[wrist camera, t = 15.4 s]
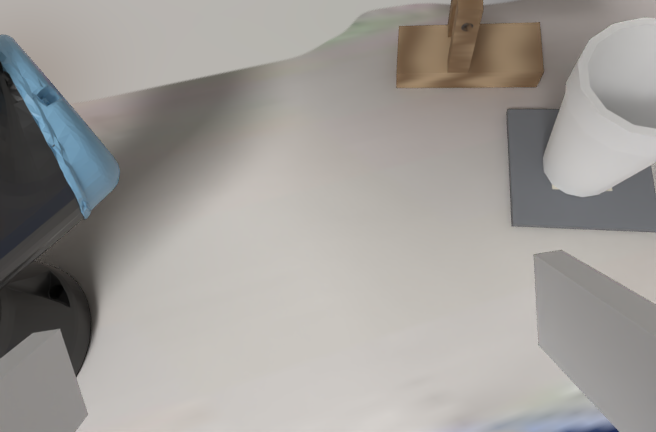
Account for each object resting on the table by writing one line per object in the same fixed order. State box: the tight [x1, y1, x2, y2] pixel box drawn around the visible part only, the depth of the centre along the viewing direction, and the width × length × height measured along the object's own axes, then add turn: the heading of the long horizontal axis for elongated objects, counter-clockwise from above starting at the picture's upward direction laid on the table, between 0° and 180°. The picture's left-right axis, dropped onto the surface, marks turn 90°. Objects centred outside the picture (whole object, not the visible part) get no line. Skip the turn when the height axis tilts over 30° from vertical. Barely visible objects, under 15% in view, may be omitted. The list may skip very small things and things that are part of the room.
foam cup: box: [543, 17, 656, 197], centre depth 35 cm, size 10×9×13 cm
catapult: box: [396, 0, 544, 88], centre depth 40 cm, size 17×6×15 cm, turn 85°
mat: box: [507, 109, 656, 232], centre depth 41 cm, size 12×12×1 cm
